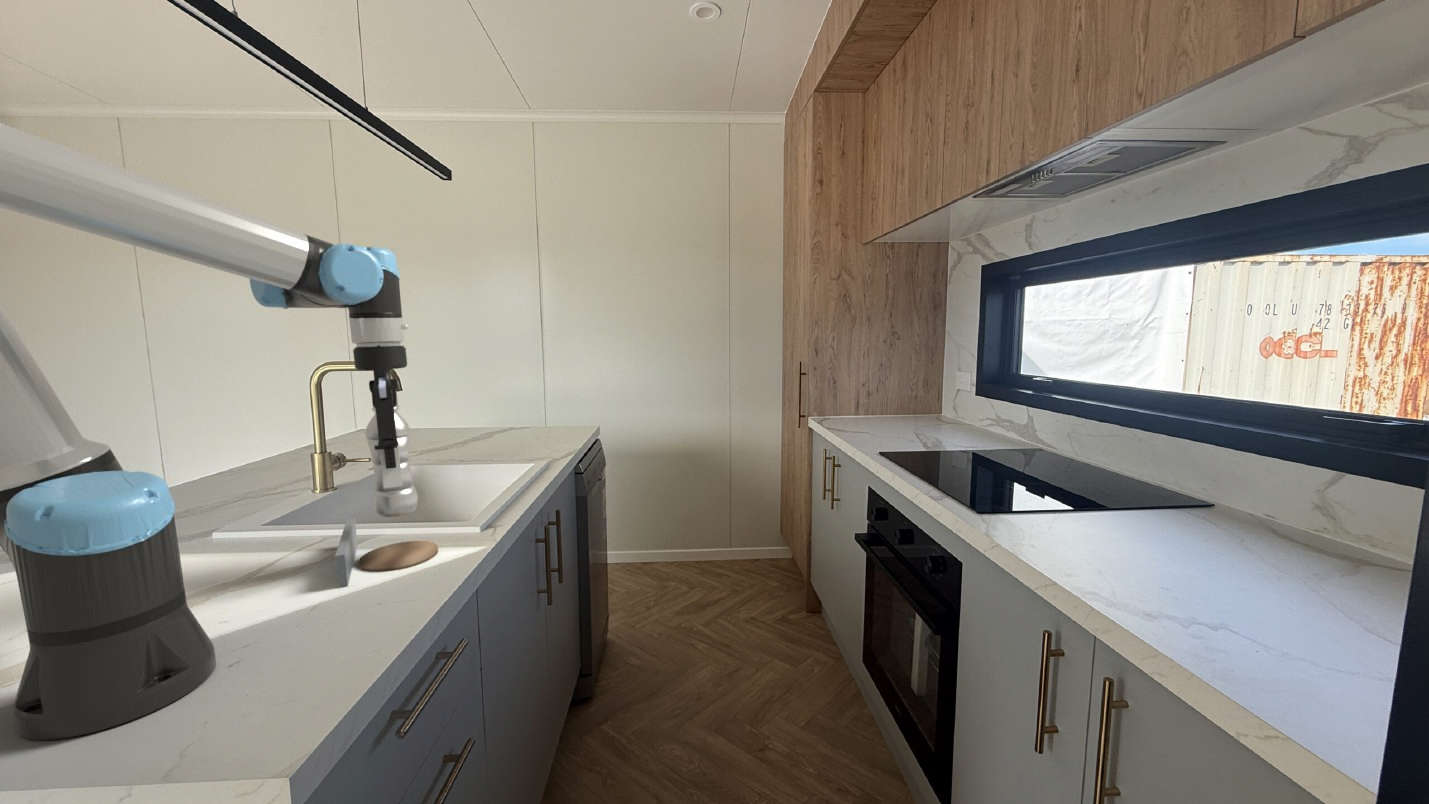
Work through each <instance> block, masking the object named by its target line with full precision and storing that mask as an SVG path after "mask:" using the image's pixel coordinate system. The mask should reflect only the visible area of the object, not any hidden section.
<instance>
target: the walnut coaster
mask: <svg viewBox="0 0 1429 804" xmlns="http://www.w3.org/2000/svg"><path fill="white" fill-rule="evenodd" d="M438 553H439V547H438V545H437V543H435V542H433V541H429V540H428V541H426V540H411V541H409V540H408V541H402V542H396V543H392V544H387V545H383V546H380V547H377V548H374V549H372V550H370V551H368V552H366V553H364V554H363V555H362V556H360V558H359V559H358V567H359V568H360V569H361V570H364V571H366V572H367V571H368V572H390V571H398V570H402V569H408V568H411V567H414V566H417V565H420V564H423V563H425V562H427V561H429V560H431V559H433V558H434V557H435V556H436V555H437V554H438Z"/></svg>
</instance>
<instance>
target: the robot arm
mask: <svg viewBox="0 0 1429 804" xmlns="http://www.w3.org/2000/svg"><path fill="white" fill-rule="evenodd" d="M0 209H4V210H8V211H10V212H14V213H19V214H23V215H24V216H25V215H26V216H29V217H33V218H36V219H40V220H43V221H47V222H50V223H53V224H57V225H61V226H65V227H68V228H72V229H74V230H78V231H82V232H84V233H89V234H92V235H96V236H100V237H102V238H106V239H111V240H113V241H116V242H119V243H120V242H121V243H124V244H127V245H131V246H134V247H138V248H141V249H144V250H148V251H152V252H156V253H159V254H162V255H165V256H166V255H167V256H169V257H173V258H177V259H180V260H183V261H187V262H191V263H194V264H198V265H201V266H205V267H208V268H212V269H214V270H218V271H222V272H226V273H230V274H232V275H236V276H239V277H243V278H245V279H246V278H247V279H249V284H250V289H251V293H252V295H253V297H254V299H255V301H256V302H257V304H259V305H260V306H263V307H265V308H277V309H279V308H282V309H285V310H288V309H292V308H293V309H321V308H322V309H330V308H334V309H335V308H336V309H337V308H338V309H348V320H349V328H350V339H351V343H352V344H355V345H356V347H354V349H352V353H353V361H354V368H355V369H356V370H358V371H373V379H372V380H369V381H368V387H369V391H370V393H371V400H372V401H371V402H372V407H373V406H374V408H376V418H377V427H378V437H379V442H378V445H376V446H375V450H379V449H380V458H381V467H382V476H383V486H384V488H390V487H398V486H403V484H402V474H401V464H400V454H399V446H398V440H397V435H396V425H395V414H394V407H395V406H397V399H398V394H397V391H398V379H397V378H392V375H391V370H394V369H395V370H398V369H404V368H407V366H408V359H407V358H408V357H407V349H406V347H405V345H401V343H404V342H405V333H404V331H405V330H406V331H407V330H408V329H409V328H408V325H407V323H402V322H403V314H402V313H403V312H402V311H403V310H402V301H401V289H400V288H401V287H400V279H401V277H400V274H399V269H398V268H399V267H398V262H397V257H396V255H395V254H394V252H393V251H392V250H390V249H388V248H382V247H375V246H360V245H356V244H348V243H337V244H333V243H330V242H328V241H325V240H322V239H320V238H317V237H314V236H310V235H307V234H306V233H305V234H304V233H302V232H299V231H297V230H294V229H291V228H288V227H286V226H283V225H280V224H277V223H275V222H272V221H270V220H267V219H265V218H262V217H258V216H256V215H253V214H251V213H247V212H245V211H242V210H239V209H237V208H234V207H231V206H228V205H226V204H223V203H221V202H217V201H215V200H211V199H209V198H207V197H203V196H201V195H198V194H196V193H193V192H190V191H187V190H185V189H182V188H179V187H176V186H173V185H171V184H168V183H165V182H164V181H159V180H157V179H155V178H153V177H152V178H151V177H149V176H147V175H143V174H141V173H137V172H136V171H132V170H130V169H127V168H124V167H122V166H119V165H116V164H114V163H111V162H108V161H105V160H102V159H100V158H98V157H94V156H92V155H89V154H86V153H84V152H81V151H78V150H75V149H72V148H70V147H68V146H64V145H61V144H59V143H56V142H54V141H50V140H47V139H45V138H43V137H41V136H40V137H39V136H36V135H34V134H31V133H29V132H26V131H23V130H21V129H18V128H15V127H12V126H9V125H7V124H3V123H2V122H0ZM403 330H404V331H403ZM392 398H393V399H392ZM389 438H391V439H389ZM175 503H176V502H175V500H174V497H173V496H172V495H171V491H170V487H169V484H168V483H167V482H166V480H164V478H162V477H160V476H159V475H158V474H157V475H156V474H154V473H149V472H145V471H129V470H124V469H123V467H122V466H121V464H120V462H119V460H118V459H117V458H116V456H115V454H114V452H113V451H112V449H111V448H110V446H109V445H108V444H105V443H101V442H96V441H93V440H89V439H87V438H84V437H83V436H82V434H81V432H80V431H79V429H78V427H77V426H76V424H75V422H74V421H73V419H72V418H71V416H70V415H69V412H68V411H67V409H65V407H64V405H63V403H62V402H61V400H60V399H59V397H58V395H57V393H56V392H55V390H54V389H53V386H51V383H50V382H49V380H48V379H47V378H46V376H45V374H44V372H43V371H42V370H41V368H40V366H39V365H38V363H37V362H36V360H35V358H34V356H33V355H32V354H31V352H30V351H29V349H28V346H27V345H26V344H25V342H24V340H23V339H22V338H21V336H20V334H19V332H18V331H17V329H16V328H15V326H14V325H13V322H12V321H11V320H10V318H9V316H8V315H7V313H6V311H5V310H4V309H3V307H2V305H1V304H0V547H1V549H2V550H3V551H4V553H5V554H6V555H7V556H8V558H9V560H10V562H11V564H12V567H13V568H14V571H15V574H16V579H17V583H18V588H19V594H20V600H21V603H22V611H23V616H24V621H25V622H24V623H25V627H26V632H27V636H28V643H29V651H28V656H27V658H26V662H25V665H24V668H23V673H22V676H21V679H20V682H19V685H18V689H17V693H16V695H15V699H14V703H13V708H12V713H13V718H14V719H13V720H14V723H15V725H14V726H15V729H16V733H17V734H18V735H19V736H20V737H23V738H25V739H29V740H37V741H45V740H46V741H48V740H51V741H52V740H59V739H67V738H73V737H77V736H78V737H79V736H83V735H87V734H91V733H95V732H99V731H103V730H106V729H110V728H113V727H116V726H119V725H121V724H124V723H127V722H130V721H133V720H135V719H138V718H141V717H143V716H145V715H148V714H151V713H153V712H155V711H157V710H160V709H162V708H164V707H165V706H167V705H170V704H171V703H173V702H175V701H177V700H179V699H181V698H182V697H184V696H186V695H188V694H189V693H190V692H192V691H193V690H195V689H196V688H198V687H200V685H202V684H203V683H204V682H205V681H206V680H207V679H209V677H210V676H211V675H212V674H213V672H214V671H215V669H216V666H217V660H216V653H215V647H214V644H213V642H212V640H211V638H210V637H209V635H208V633H206V631H205V630H204V629H203V627H202V625H201V624H200V622H199V621H198V620H197V618H196V617H195V615H194V614H193V612H192V611H191V609H190V607H189V606H188V604H187V603H188V602H187V596H186V590H185V584H184V583H185V582H184V576H183V569H182V562H181V556H180V549H179V540H178V534H177V528H176V526H177V525H176V521H175V512H176V511H175V510H176V504H175Z"/></svg>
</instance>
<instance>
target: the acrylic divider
mask: <svg viewBox="0 0 1429 804" xmlns="http://www.w3.org/2000/svg"><path fill="white" fill-rule="evenodd" d="M339 540H340V541H339V543H338V545H337V549H336V552H335V554H334V558H335V559H334V561H335V568H336V569H335V571H336V579H337V587H338V588H344V587H349V583H350V578H351V573H352V570H353V566H354V561H355V557H356V552H357V549H358V535H357V526H356V519H355V517H354V518H353V517H352V518H347V519H346V521H345V525H344V528H343V530H342V534H341V536H340V539H339Z"/></svg>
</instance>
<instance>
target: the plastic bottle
mask: <svg viewBox="0 0 1429 804" xmlns="http://www.w3.org/2000/svg"><path fill="white" fill-rule="evenodd" d="M392 399H393V398H392ZM371 410H372V412H374V415H373V416H372V418H371V419H370V421H369V422H368V424H367V426H366V427H365V437H366V440H367V441H366V443H367V446H368V449H369V452H370V456H371V463H372V464H373V466H372V467H373V477H374V478H373V481H374V491H373V500H372V501H373V507H374V510H375V512H376V513H377V514H378V516H380V517H381V518H382V517H383V518H393V517H394V518H395V517H396V518H397V517H401V516H405V515H408V514H411V513H412V512H414V511H416V508H417V506H418V501H419V500H418V498H419V497H418V493H417V490H416V486H415V485H414V479H413V476H412V470H411V467H410V466H411V464H410V463H411V461H410V439H411V438H410V435H411V429H410V425H409V423H408V422H407V421H406V420H405V418H404V417H403V416H402V415H401V414H400V413H399V412H398V410H400V405H399V400H398V398H397V406H395V407H394V414H395V425H396V435H397V440H398V446H399V454H400V464H401V474H402V484H403V486H398V487H390V488H384V486H383V476H382V467H381V458H380V449H379V450H375V446H376V445H378V442H379V437H378V427H377V418H376V408H374V406H373V405H372V409H371ZM389 439H391V438H389Z"/></svg>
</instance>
